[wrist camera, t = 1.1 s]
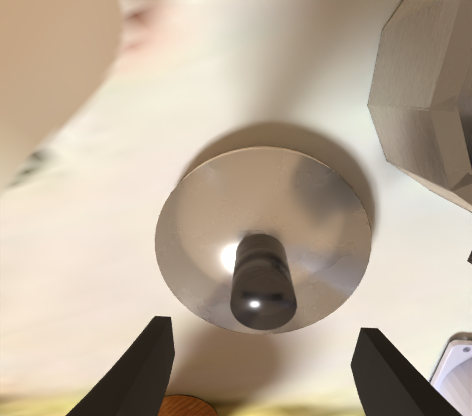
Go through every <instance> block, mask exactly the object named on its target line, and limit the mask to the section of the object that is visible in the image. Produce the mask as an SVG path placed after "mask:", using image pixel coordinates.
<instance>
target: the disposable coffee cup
mask: <svg viewBox="0 0 472 416" xmlns="http://www.w3.org/2000/svg"><path fill="white" fill-rule="evenodd" d="M158 416H218V415H217V413H216V411H215V410H214V409H213V408H212V407H211V406H210V405H209V404H207V403H206V402H204V401H202V400H200V399H197V398H195V397H191V396H184V395H174V396H168V397H165V398H163V401H162V404H161V407H160V410H159V413H158Z"/></svg>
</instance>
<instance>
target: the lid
mask: <svg viewBox="0 0 472 416" xmlns="http://www.w3.org/2000/svg"><path fill="white" fill-rule="evenodd" d="M155 252H156V257H157V262H158V265H159V268H160V271H161V274H162V276H163V278H164V280H165V282H166V284H167V285H168V287H169V288H170V290H171V291H172V293H173V294H174V295H175V296H176V297H177V299H178V300H179V301H180V302H181V303H182V304H183V305H184V306H186V307H187V308H188V309H189V310H190V311H192V312H193V313H195V314H196V315H197V316H199V317H201V318H202V319H204V320H206V321H208V322H210V323H212V324H214V325H217V326H219V327H222V328H225V329H228V330H232V331H237V332H241V333H249V334H276V333H283V332H289V331H293V330H297V329H300V328H303V327H306V326H308V325H311V324H313V323H315V322H317V321H319V320H321V319H323V318H325V317H326V316H328V315H329V314H331V313H332V312H334V311H335V310H336V309H337V308H339V307H340V306H341V305H342V304H343V303H344V302H345V301H346V300H347V299H348V298H349V297H350V296H351V295H352V294H353V292H354V291H355V289H356V288H357V286H358V285H359V283H360V281H361V279H362V278H363V276H364V274H365V271H366V268H367V265H368V262H369V258H370V252H371V231H370V224H369V220H368V217H367V214H366V211H365V209H364V207H363V205H362V203H361V201H360V199H359V197H358V196H357V195H356V193H355V192H354V190H353V189H352V188H351V186H350V185H349V184H348V183H347V182H346V181H345V180H344V179H343V178H342V177H341V176H340V175H338V174H337V173H336V172H335V171H333V170H332V169H331V168H330V167H328V166H327V165H326V164H324V163H322V162H320V161H319V160H317V159H315V158H313V157H311V156H309V155H306V154H303V153H301V152H298V151H295V150H290V149H286V148H281V147H271V146H256V147H246V148H240V149H235V150H232V151H229V152H225V153H222V154H220V155H217V156H215V157H213V158H211V159H209V160H207V161H205V162H204V163H202V164H201V165H199V166H198V167H196V168H195V169H194V170H192V171H191V172H190V173H189V174H188V175H187V176H185V177H184V179H183V180H182V181H181V182H180V183H179V184H178V185H177V187H176V188H175V189H174V190H173V191H172V193H171V194H170V196H169V197H168V199H167V201H166V202H165V204H164V206H163V208H162V211H161V213H160V215H159V219H158V223H157V226H156V234H155Z"/></svg>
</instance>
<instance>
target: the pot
mask: <svg viewBox="0 0 472 416" xmlns="http://www.w3.org/2000/svg"><path fill="white" fill-rule="evenodd" d="M367 106H368V108H369V111H370V114H371V117H372V120H373V122H374V125H375V128H376V131H377V134H378V137H379V140H380V143H381V146H382V149H383V152H384V155H385V157H386V160H387V162H389V163H391V164H392V165H394V166H395V167H397V168H398V169H400V170H401V171H403V172H404V173H406V174H407V175H409V176H410V177H411V178H413V179H414V180H416V181H417V182H419V183H420V184H422V185H423V186H425V187H426V188H428V189H429V190H430V191H432V192H434V193H436V194H437V195H439V196H441V197H443V198H445V199H447V200H449V201H451V202H453V203H454V204H456V205H458V206H460V207H462V208H464V209H466V210H468V211H470V212H472V0H403V1H402V3H401V4H400V6H399V7H398V8H397V10H396V11H395V13H394V14H393V15H392V17H391V18H390V20H389V21H388V23H387V24H386V25H385V27H384V28H383V30H382V36H381V41H380V45H379V50H378V55H377V60H376V65H375V70H374V75H373V80H372V85H371V90H370V95H369V100H368V104H367ZM467 261H468V262H469V263H471V264H472V251H471V254H470V256H469V258H468V260H467Z"/></svg>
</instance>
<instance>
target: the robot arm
mask: <svg viewBox="0 0 472 416" xmlns="http://www.w3.org/2000/svg"><path fill="white" fill-rule="evenodd" d="M174 356H175V350H174V341H173V332H172V322H171V317H163V316H155V317H154V318H153V319H152V320H151V321H150V322H149V324H148V325H147V326H146V328H145V329H144V330H143V331H142V333H141V334H140V335H139V336H138V338H137V339H136V340H135V341H134V342H133V344H132V345H131V346H130V347H129V348H128V350H127V351H126V352H125V353H124V354H123V355H122V357H121V358H120V359H119V360H118V361H117V362H116V363H115V365H114V366H113V367H112V368H111V369H110V370H109V371H108V373H107V374H106V375H105V376H104V377H103V378H102V379H101V380H100V381H99V382H98V383H97V384H96V385H95V386H94V387H93V388H92V390H91V391H90V392H89V393H88V394H87V395H86V396H85V397H84V398H83V399H82V400H81V401H80V402H79V403H78V404H77V405H76V406H75V407H74V408H73V409H72V410H71V411H70V412H69V413H68V414H67V415H66V416H158V413H159V410H160V407H161V404H162V401H163V398H164V395H165V392H166V389H167V386H168V383H169V378H170V374H171V370H172V365H173V361H174ZM351 369H352V373H353V377H354V381H355V384H356V388H357V391H358V395H359V398H360V401H361V404H362V406H363V409H364V412H365V414H366V416H472V341H469V340H453V341H451V342H450V343H449V345H448V347H447V349H446V351H445V353H444V355H443V357H442V359H441V362H440V364H439V366H438V368H437V370H436V372H435V374H434V376H433V378H432V380H431V383H429V382H428V381H427V380H426V379H425V378H424V377H423V376H422V375H421V374H420V373H419V372H418V371H417V370H416V369H415V368H414V366H413V365H412V364H411V363H410V362H409V361H408V360H407V359H406V358H405V357H404V356H403V355H402V354H401V353H400V352H399V351H398V349H397V348H396V347H395V346H394V345H393V344H392V343H391V342H390V341H389V340H388V339H387V338H386V337H385V335H384V334H383V333H382V332H381V331H380V330H379V329H378V328H361V330H360V333H359V337H358V340H357V344H356V347H355V351H354V355H353V358H352V362H351Z"/></svg>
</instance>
